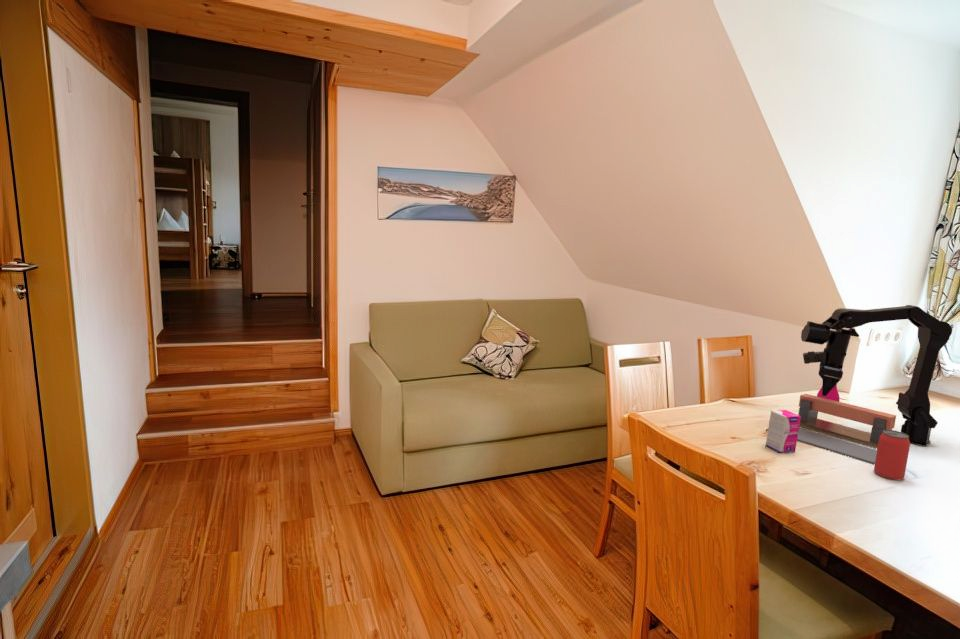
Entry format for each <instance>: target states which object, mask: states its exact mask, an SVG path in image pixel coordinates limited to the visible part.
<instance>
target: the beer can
mask: <svg viewBox="0 0 960 639" xmlns="http://www.w3.org/2000/svg"><path fill="white" fill-rule="evenodd" d="M910 447H911V443H910V441H909V436H908V435H907V434H905V433H902V432H901V431H898V430H893V429H892V430H883V433H882V434H881V436H880V437H879V442H878V448H877V449H876V450H877V454H876V460H875V464H874V467H873V471H874V473H876V475H878V476H880V477H883V478H884V479H889V480H895V481H900V480H903V479H904V478H905V476H906V470H907V465H908V464H907V463H908V458H909V453H910Z"/></svg>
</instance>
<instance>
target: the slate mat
mask: <svg viewBox="0 0 960 639" xmlns="http://www.w3.org/2000/svg"><path fill="white" fill-rule="evenodd" d="M767 431H768V428H766V429H765V432H767ZM799 441H800V442H801V443H804V444H806V445H809V444H810V445H809V446H812V445H813V447H817V448H819V449H822V448H823V449H822V450H825V449H826V450H825V451H828V450H830V451H829V452H832V451H833V452H832V453H835V452H836V454H838V453H839V455H841V454H842V456H845V455H846V457H848V456H849V457H848V458H851V457H852V459H855V460H858V461H861V462H865V463H867V464H871V465H875V460H876V454H877V449H875V448H872V447H868V446H865V445H861V444H858V443H854V442H851V441H848V440H844V439H841V438H837V437H834V436H830V435H827V434H823V433H820V432H816V431H813V430H809V429H806V428H803V427H799V431H798V437H797V442H799Z"/></svg>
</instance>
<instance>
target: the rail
mask: <svg viewBox="0 0 960 639" xmlns="http://www.w3.org/2000/svg"><path fill="white" fill-rule="evenodd" d="M801 399H804V400H808V401H812V406H811V410H814V411H818V413H822V414H826V415H830V416H834V417H838V418H842V419H846V420H849V421H852V422H856V423H860V424H865V425H868V426H872V427H873V421H874V418H875V417H876V418H880V419H884V420H887V423H886V429H887V430H891V429H892V430H893V429H895V426H896V420H897V415H896V414H892V413H888V412H884V411H883V412H882V411H879V410H874V409H871V408H868V407H862V406H859V405H855V404H850V403H846V402H842V401H839V402H838V401H834V400H830V399H826V398H822V397H817V395H813V394H808V393H802V394H800V396H799V400H798V401H799V402H798V408H800V403H801Z"/></svg>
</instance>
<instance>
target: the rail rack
mask: <svg viewBox="0 0 960 639" xmlns="http://www.w3.org/2000/svg"><path fill="white" fill-rule="evenodd" d="M811 406H812V401H808V400H804V399H801V403H800V407H798V414H797V415H799V416H801V420H800V425H799V428H802V429H806V430H809V429H810V430H809V431H813V432H816V433H820V434H823V435H827V436H830V437H833V438H837V439H840V440H844V441H847V442H851V443H854V444H858V445H861V444H862V445H861V446H865V445H866V446H865V447H868V446H870V447H869V448H872V447H873V448H872V449H875V448H878V442H879V437H880V436H881V434H882V433H883V430H887V429H886V423H887V420H884V419H880V418H876V417H875V418H874V421H873V426H872V427H871V431H870V432H868V431H864V430H861V429H858V428H853V427H850V426H847V425H844V424H843V425H842V424H839V423H835V422H831V421H827V420H823V419H820V418H818V417H819V416H818V415H819V412H818V411H814V410H811ZM891 430H893V429H891Z"/></svg>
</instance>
